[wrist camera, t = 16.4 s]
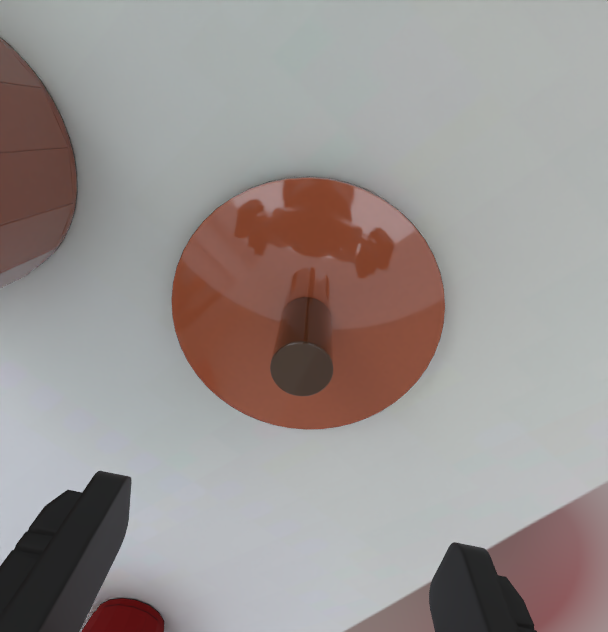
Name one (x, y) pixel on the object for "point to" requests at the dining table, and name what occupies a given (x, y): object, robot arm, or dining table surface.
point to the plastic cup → (124, 617)
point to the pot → (31, 170)
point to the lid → (308, 303)
